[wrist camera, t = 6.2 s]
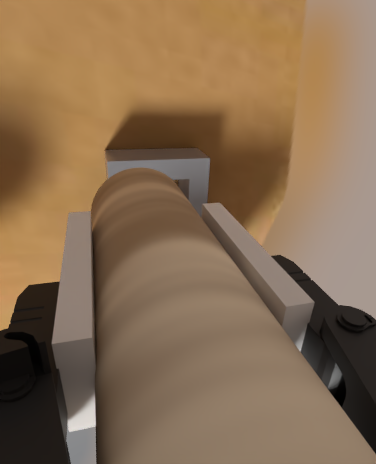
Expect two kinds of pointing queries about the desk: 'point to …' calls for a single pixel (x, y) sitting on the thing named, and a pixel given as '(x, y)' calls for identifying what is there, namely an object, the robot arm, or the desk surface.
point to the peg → (195, 346)
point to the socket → (168, 168)
